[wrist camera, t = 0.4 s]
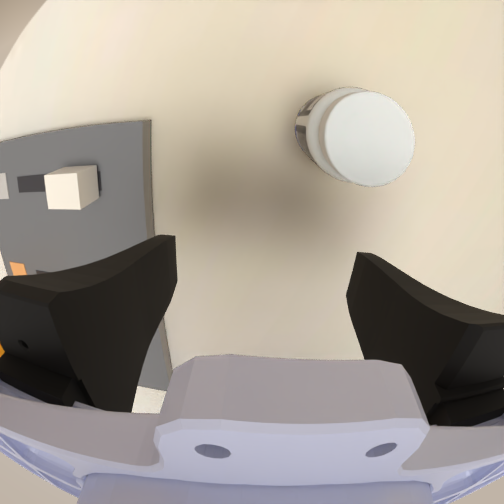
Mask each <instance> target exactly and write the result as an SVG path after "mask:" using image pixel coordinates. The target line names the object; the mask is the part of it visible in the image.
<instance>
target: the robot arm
mask: <svg viewBox="0 0 504 504" xmlns="http://www.w3.org/2000/svg"><path fill="white" fill-rule="evenodd" d="M176 284H177V264H176V242H175V236H171V235H158V236H155V237H152V238H150V239H147V240H145V241H143V242H141V243H139V244H136V245H134V246H132V247H130V248H128V249H125V250H123V251H121V252H118V253H116V254H114V255H111V256H109V257H107V258H104V259H101V260H98V261H95V262H92V263H89V264H86V265H83V266H78V267H74V268H70V269H66V270H62V271H56V272H50V273H43V274H34V275H16V276H6V277H4V278H3V279H2V280H1V281H0V344H1V346H2V348H3V350H4V351H5V352H4V354H3V355H2V356H1V357H0V451H1V452H2V453H3V454H5V455H6V456H7V457H9V458H11V459H12V460H13V461H15V462H16V463H18V464H19V465H21V466H22V467H24V468H25V469H27V470H29V471H30V472H32V473H33V474H35V475H37V476H39V477H40V478H42V479H43V480H45V481H47V482H49V483H50V484H52V485H54V486H56V487H58V488H60V489H61V490H63V491H66V492H67V493H69V494H71V495H73V496H75V497H77V498H79V499H78V501H77V504H449V503H451V502H454V501H455V500H458V499H460V498H462V497H464V496H466V495H468V494H470V493H472V492H474V491H476V490H478V489H480V488H482V487H484V486H486V485H488V484H490V483H492V482H493V481H495V480H497V479H499V478H501V477H502V476H504V389H503V388H504V315H501V314H497V313H492V312H488V311H485V310H481V309H478V308H475V307H472V306H469V305H466V304H464V303H461V302H459V301H456V300H454V299H451V298H449V297H447V296H444V295H443V294H441V293H439V292H437V291H434V290H432V289H431V288H429V287H427V286H425V285H423V284H422V283H420V282H418V281H417V280H415V279H413V278H412V277H410V276H409V275H407V274H405V273H404V272H402V271H401V270H399V269H398V268H396V267H395V266H393V265H391V264H390V263H388V262H387V261H385V260H384V259H382V258H380V257H378V256H376V255H374V254H372V253H363V252H357V255H356V259H355V263H354V267H353V271H352V275H351V279H350V282H349V286H348V290H347V293H346V298H347V304H348V309H349V314H350V317H351V320H352V323H353V326H354V329H355V332H356V335H357V338H358V341H359V344H360V347H361V350H362V353H363V356H364V359H365V360H312V359H288V358H271V357H257V356H245V355H234V354H226V355H212V356H196V357H194V358H192V359H190V360H189V361H187V362H185V363H184V364H182V365H180V366H178V367H176V368H175V369H174V370H173V373H172V376H171V379H170V382H169V386H168V389H167V392H166V395H165V398H164V402H163V405H162V408H161V411H160V414H153V413H131V412H132V407H133V403H134V398H135V394H136V389H137V385H138V382H139V378H140V374H141V371H142V367H143V364H144V361H145V358H146V355H147V351H148V348H149V346H150V344H151V341H152V339H153V337H154V335H155V333H156V330H157V328H158V326H159V324H160V322H161V320H162V318H163V316H164V314H165V312H166V310H167V308H168V306H169V304H170V302H171V299H172V296H173V293H174V290H175V287H176Z"/></svg>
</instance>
